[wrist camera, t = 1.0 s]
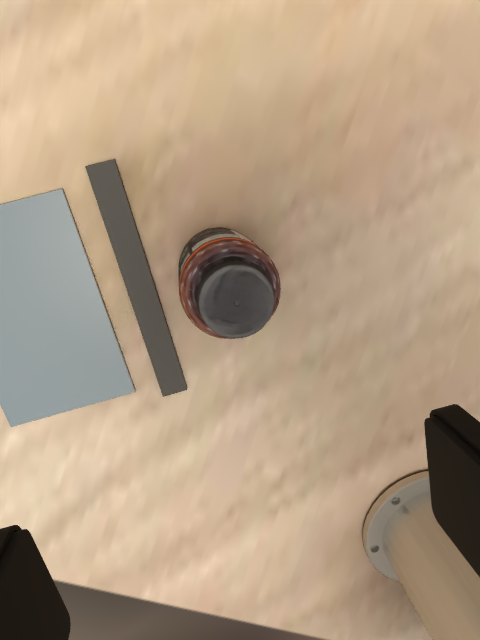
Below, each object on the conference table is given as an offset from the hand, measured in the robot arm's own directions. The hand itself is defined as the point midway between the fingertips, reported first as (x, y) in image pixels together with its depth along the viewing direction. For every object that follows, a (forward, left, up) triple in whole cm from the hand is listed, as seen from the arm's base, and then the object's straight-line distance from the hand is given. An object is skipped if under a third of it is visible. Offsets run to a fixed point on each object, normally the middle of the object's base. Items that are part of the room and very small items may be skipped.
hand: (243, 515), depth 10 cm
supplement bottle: (-2, -1, -25) cm, 25 cm away
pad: (+12, -1, -25) cm, 28 cm away
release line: (+4, -1, -25) cm, 25 cm away
